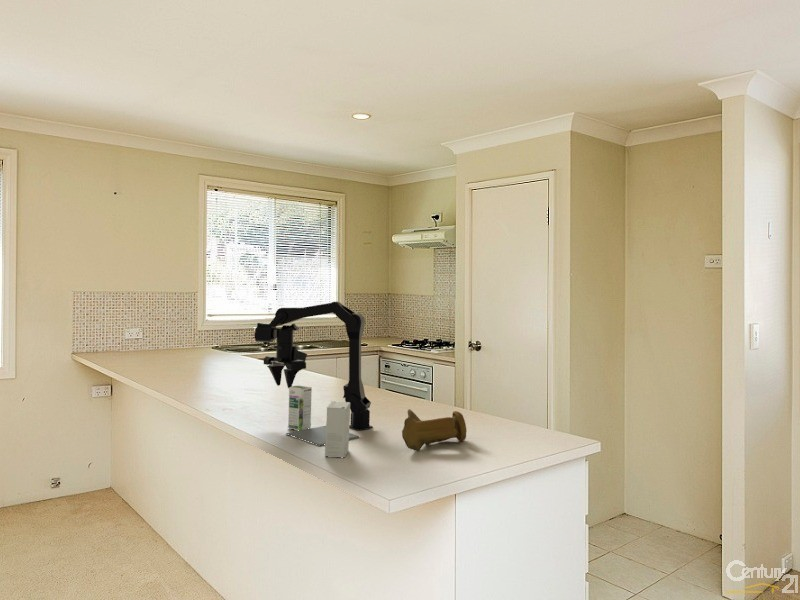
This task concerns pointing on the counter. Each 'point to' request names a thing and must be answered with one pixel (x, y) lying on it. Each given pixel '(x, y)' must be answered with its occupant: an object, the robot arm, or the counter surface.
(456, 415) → the brown flanged cylinder
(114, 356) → the counter surface
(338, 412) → the skincare box
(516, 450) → the counter surface
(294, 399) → the syrup box
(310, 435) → the mat
